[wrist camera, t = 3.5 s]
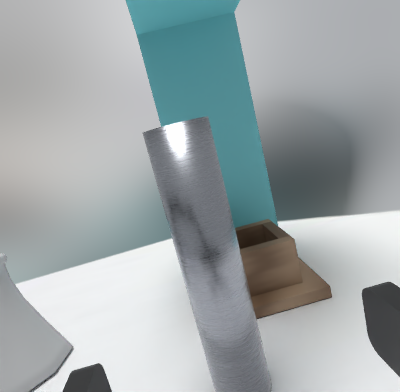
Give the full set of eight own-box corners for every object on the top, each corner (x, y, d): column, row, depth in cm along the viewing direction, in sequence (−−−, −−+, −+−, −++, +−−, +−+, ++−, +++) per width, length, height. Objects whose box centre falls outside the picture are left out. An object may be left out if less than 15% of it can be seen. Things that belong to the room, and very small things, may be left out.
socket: (213, 330, 24) (198, 274, 23) (201, 276, 34) (190, 235, 33) (331, 297, 25) (321, 240, 24) (286, 252, 35) (277, 211, 34)
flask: (89, 342, 27) (51, 239, 25) (13, 417, 21) (-45, 287, 19) (36, 337, 30) (-2, 244, 28) (-44, 400, 24) (-99, 287, 22)
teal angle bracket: (217, 347, 22) (101, -83, 17) (198, 265, 37) (133, 21, 32) (345, 310, 23) (273, -120, 17) (277, 243, 38) (226, -1, 32)
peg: (221, 420, 17) (139, 132, 14) (212, 373, 20) (145, 133, 17) (280, 402, 17) (212, 113, 14) (261, 359, 20) (204, 119, 17)
